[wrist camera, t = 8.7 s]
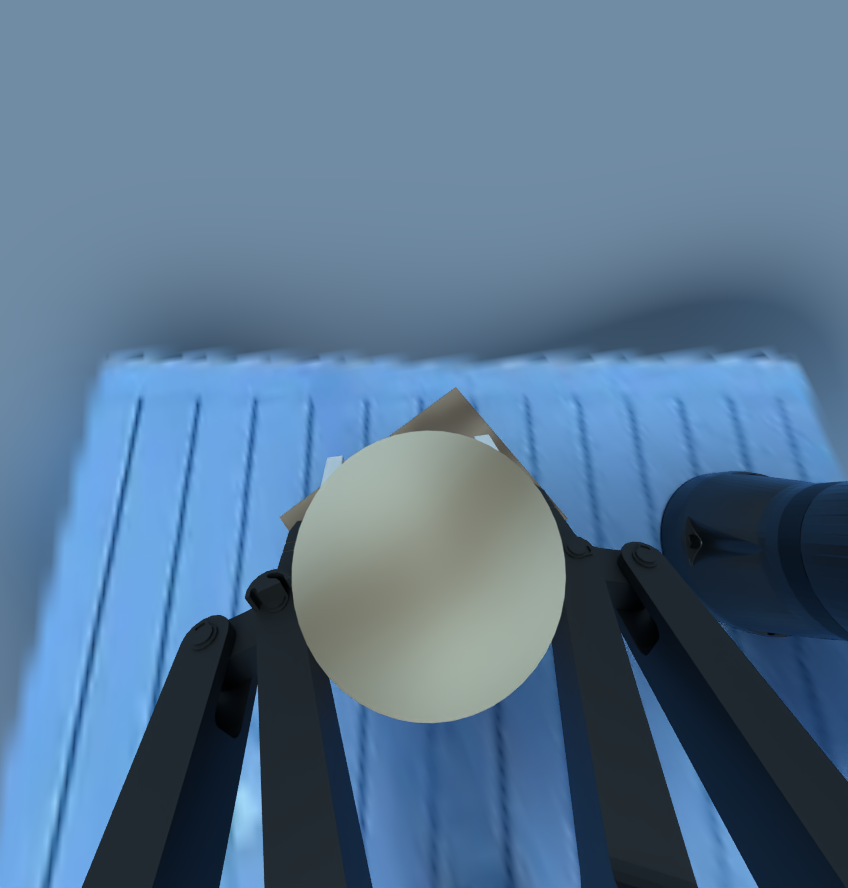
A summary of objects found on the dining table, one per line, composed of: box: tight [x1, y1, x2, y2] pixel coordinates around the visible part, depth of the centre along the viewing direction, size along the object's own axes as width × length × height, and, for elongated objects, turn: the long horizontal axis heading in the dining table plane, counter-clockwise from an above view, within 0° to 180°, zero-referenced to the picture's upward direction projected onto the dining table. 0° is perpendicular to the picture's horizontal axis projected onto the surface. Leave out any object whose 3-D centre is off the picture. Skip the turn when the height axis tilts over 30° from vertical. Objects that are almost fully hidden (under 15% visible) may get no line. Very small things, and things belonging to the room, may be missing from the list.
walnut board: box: [280, 387, 567, 531], centre depth 28 cm, size 16×20×4 cm
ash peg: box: [292, 431, 566, 723], centre depth 13 cm, size 7×7×11 cm
